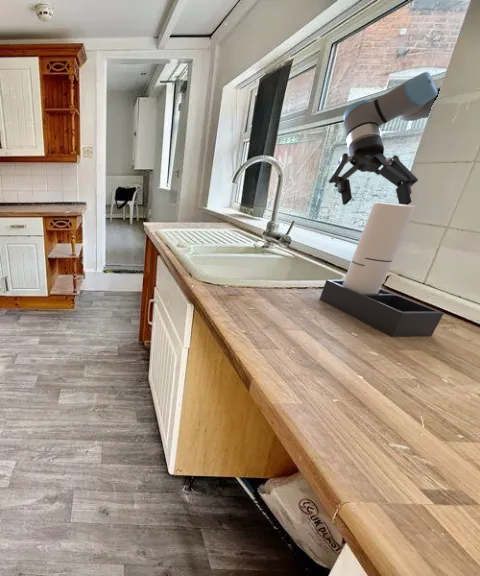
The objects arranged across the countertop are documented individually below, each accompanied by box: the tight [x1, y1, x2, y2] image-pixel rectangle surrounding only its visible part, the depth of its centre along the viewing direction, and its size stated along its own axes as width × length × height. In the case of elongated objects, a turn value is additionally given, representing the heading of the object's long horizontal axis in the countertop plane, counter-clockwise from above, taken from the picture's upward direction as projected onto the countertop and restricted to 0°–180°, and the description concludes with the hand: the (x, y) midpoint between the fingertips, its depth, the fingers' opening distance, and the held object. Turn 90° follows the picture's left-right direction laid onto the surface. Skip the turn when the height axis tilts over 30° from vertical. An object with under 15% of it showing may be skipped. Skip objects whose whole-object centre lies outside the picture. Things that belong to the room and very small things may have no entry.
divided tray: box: [319, 279, 445, 338], centre depth 73 cm, size 10×19×6 cm, turn 7°
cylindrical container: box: [342, 201, 417, 294], centre depth 74 cm, size 7×7×25 cm
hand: (376, 203), depth 82 cm, fingers open, 13 cm apart
